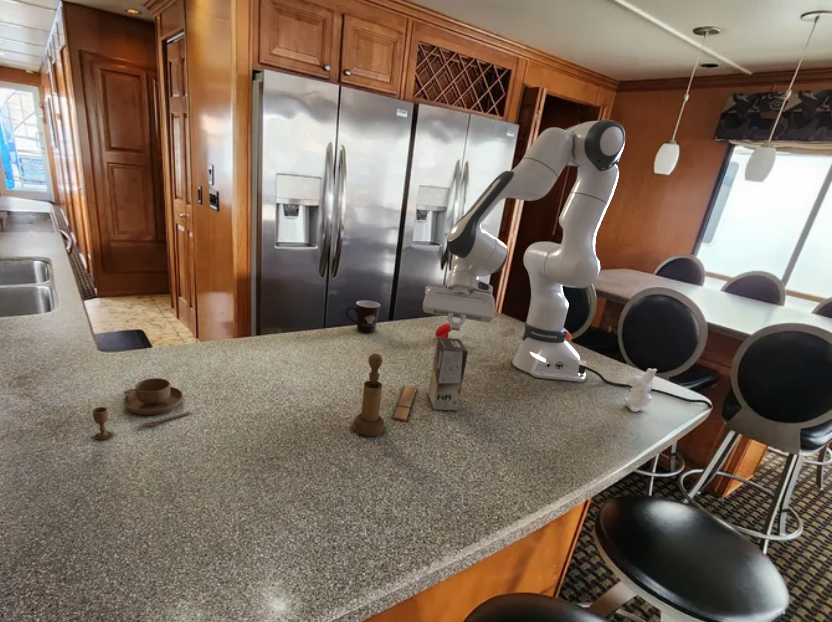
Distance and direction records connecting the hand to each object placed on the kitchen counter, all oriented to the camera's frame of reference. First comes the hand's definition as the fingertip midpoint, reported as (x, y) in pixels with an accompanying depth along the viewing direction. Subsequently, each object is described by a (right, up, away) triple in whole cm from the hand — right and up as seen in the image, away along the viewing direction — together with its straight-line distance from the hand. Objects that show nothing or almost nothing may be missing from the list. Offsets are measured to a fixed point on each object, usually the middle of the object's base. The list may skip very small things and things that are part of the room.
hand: (454, 329), depth 128 cm
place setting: (-74, -19, -28) cm, 82 cm away
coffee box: (-5, -19, -9) cm, 22 cm away
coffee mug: (-28, +1, +37) cm, 46 cm away
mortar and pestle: (-23, -24, -25) cm, 42 cm away
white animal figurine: (+49, -22, -2) cm, 54 cm away
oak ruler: (-14, -19, -12) cm, 27 cm away
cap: (+2, -2, +36) cm, 36 cm away
